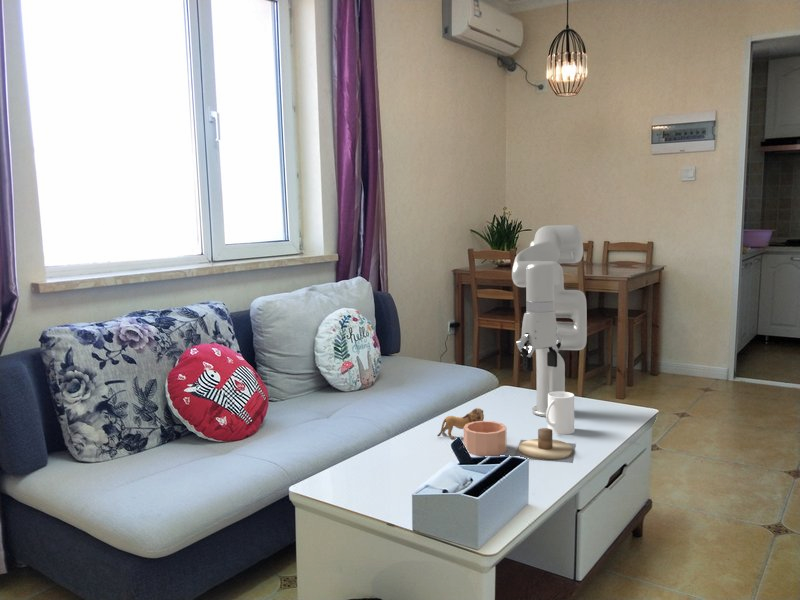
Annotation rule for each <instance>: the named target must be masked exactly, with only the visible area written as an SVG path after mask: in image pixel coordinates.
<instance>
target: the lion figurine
mask: <svg viewBox="0 0 800 600" xmlns="http://www.w3.org/2000/svg"><path fill="white" fill-rule="evenodd" d="M484 418H485V415H484V410H483V409H482V408H479V407H475V408H474V409H472V411H470V412H468V413H467V414H465V415H464V416H461V417H459V416H454V415H448V416H446V417H445V418H444V419H443V421H442V424H441V429H440V432H439V433H438V434H437V435H436V436H437V437H440V436H441V435H442V436H443V437H446V436H447V435H448V437H449V439H451V440H455V436H453V435H452V431H453V430H454V429H453V428H454V427H455V428H457V429H459V430H464V426H465V425H466V424H468V423H471V422H476V421H484ZM446 431H447V433H446Z"/></svg>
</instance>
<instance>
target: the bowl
mask: <svg viewBox="0 0 800 600" xmlns="http://www.w3.org/2000/svg"><path fill="white" fill-rule="evenodd" d="M507 430H508V427H507V426H506V425H505V424H504V423H501V422H498V421H493V420H492V421H491V420H483V421H476V422H471V423H468V424H466V425H465V426H464V429H463V446H464V445H465V446H466V448H467V450H468V451H469V453H468V454H471V455H474V456H479V457H480V456H481V457H488V456H487V455H493V456H499V455H501V454H503V453H504V454H505V453H506V452H507V449H508V448H507V446H508V443H507V440H508V437H507V435H508V434H507V433H508V432H507Z"/></svg>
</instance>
